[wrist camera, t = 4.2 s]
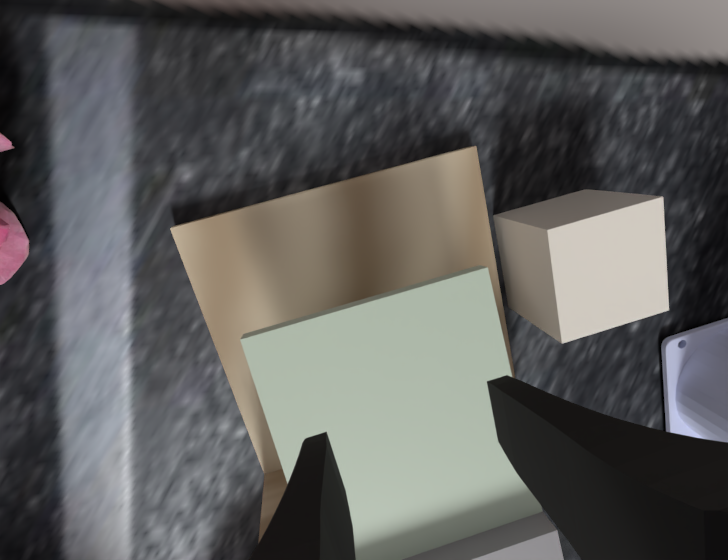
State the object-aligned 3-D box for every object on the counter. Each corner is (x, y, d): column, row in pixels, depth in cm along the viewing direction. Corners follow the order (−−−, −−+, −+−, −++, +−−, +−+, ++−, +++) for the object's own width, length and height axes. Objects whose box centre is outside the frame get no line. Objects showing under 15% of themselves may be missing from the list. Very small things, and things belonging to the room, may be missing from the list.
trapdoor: (469, 262, 18) (500, 270, 15) (533, 540, 21) (571, 595, 18) (247, 326, 18) (234, 348, 15) (338, 608, 20) (344, 676, 17)
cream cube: (585, 188, 23) (663, 196, 18) (594, 280, 24) (669, 310, 19) (492, 215, 22) (547, 230, 17) (507, 306, 24) (561, 343, 19)
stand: (469, 146, 21) (561, 139, 14) (518, 428, 26) (605, 533, 18) (174, 225, 20) (107, 262, 13) (281, 505, 24) (275, 648, 17)
